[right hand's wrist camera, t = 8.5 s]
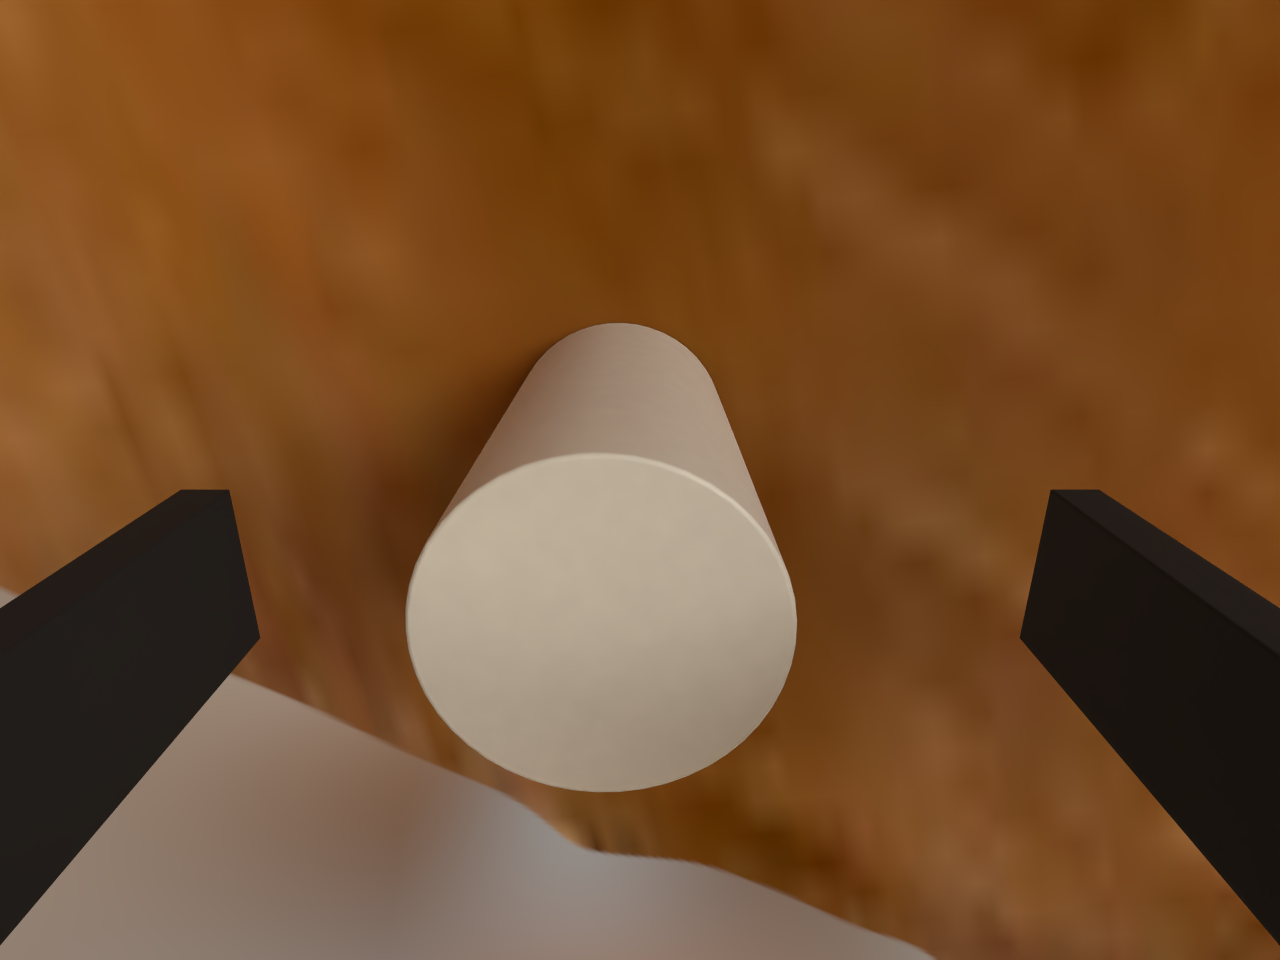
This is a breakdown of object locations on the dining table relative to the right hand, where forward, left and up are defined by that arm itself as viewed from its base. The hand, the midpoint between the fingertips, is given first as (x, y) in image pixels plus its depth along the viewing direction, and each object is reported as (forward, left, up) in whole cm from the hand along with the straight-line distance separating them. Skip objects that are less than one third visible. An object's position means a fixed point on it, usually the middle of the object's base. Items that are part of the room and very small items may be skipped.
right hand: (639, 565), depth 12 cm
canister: (+1, -1, -11) cm, 11 cm away
